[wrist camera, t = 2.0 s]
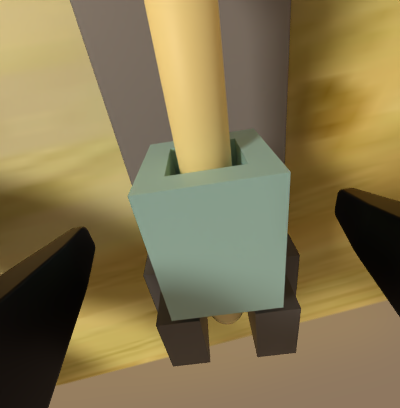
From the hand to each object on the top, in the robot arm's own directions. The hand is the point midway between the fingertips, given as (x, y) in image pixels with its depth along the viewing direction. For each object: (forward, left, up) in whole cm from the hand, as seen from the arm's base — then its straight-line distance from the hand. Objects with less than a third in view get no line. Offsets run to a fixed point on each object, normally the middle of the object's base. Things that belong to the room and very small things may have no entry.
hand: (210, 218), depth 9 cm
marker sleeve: (0, 0, -2) cm, 2 cm away
